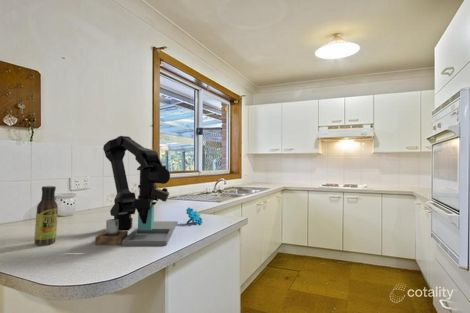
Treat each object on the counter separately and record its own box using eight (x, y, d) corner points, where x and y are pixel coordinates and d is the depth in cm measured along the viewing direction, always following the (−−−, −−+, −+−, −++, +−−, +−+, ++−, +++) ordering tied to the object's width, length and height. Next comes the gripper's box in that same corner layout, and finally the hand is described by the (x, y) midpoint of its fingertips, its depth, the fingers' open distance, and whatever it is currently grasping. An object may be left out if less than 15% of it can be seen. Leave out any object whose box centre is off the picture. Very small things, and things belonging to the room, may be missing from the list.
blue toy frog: (196, 223, 126) (184, 206, 130) (187, 232, 127) (176, 214, 130) (207, 222, 136) (196, 206, 140) (199, 230, 137) (187, 214, 141)
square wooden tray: (95, 245, 95) (95, 237, 95) (104, 239, 104) (104, 231, 104) (120, 245, 96) (120, 237, 96) (127, 239, 105) (127, 231, 105)
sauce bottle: (42, 247, 93) (44, 187, 93) (30, 244, 95) (32, 186, 95) (60, 242, 99) (62, 186, 99) (48, 240, 101) (50, 185, 101)
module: (137, 230, 106) (138, 206, 106) (140, 227, 111) (141, 204, 111) (151, 230, 107) (151, 206, 107) (153, 227, 112) (154, 204, 112)
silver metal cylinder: (104, 244, 98) (104, 221, 98) (108, 240, 102) (108, 218, 102) (115, 243, 98) (116, 221, 98) (119, 240, 102) (119, 218, 102)
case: (121, 246, 95) (121, 241, 95) (145, 223, 131) (145, 219, 131) (166, 246, 96) (166, 240, 96) (177, 223, 132) (177, 219, 132)
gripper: (164, 184, 101) (163, 227, 100) (171, 180, 119) (170, 217, 119) (132, 184, 100) (131, 227, 99) (144, 180, 118) (143, 217, 118)
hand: (146, 222), depth 109 cm, fingers closed on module, 5 cm apart
